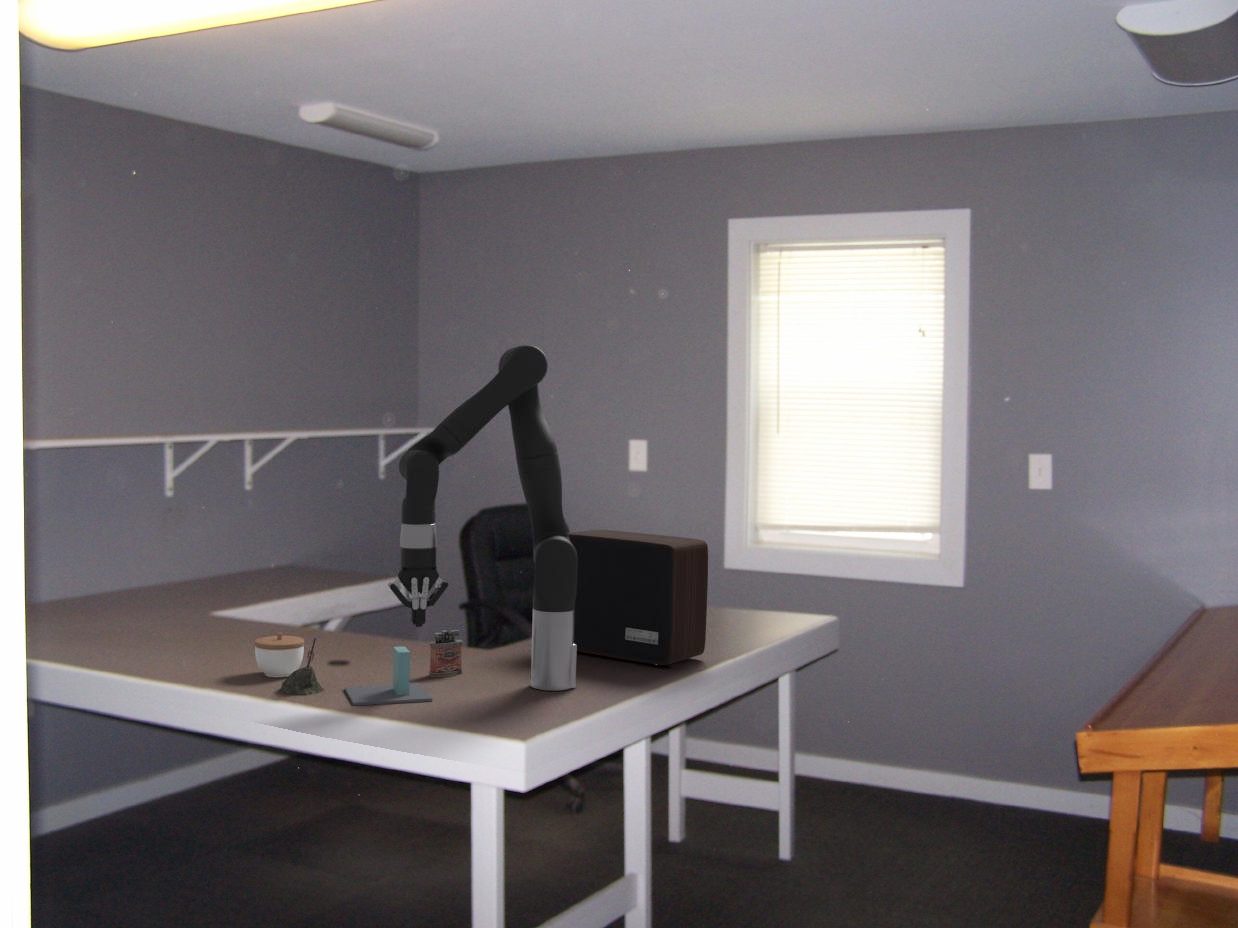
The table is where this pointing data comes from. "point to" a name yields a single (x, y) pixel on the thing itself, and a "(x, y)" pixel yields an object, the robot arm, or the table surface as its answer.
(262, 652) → the lidded jar
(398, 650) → the tile
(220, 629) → the table surface
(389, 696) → the mat
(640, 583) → the radio
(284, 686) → the sword in stone
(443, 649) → the lighter
